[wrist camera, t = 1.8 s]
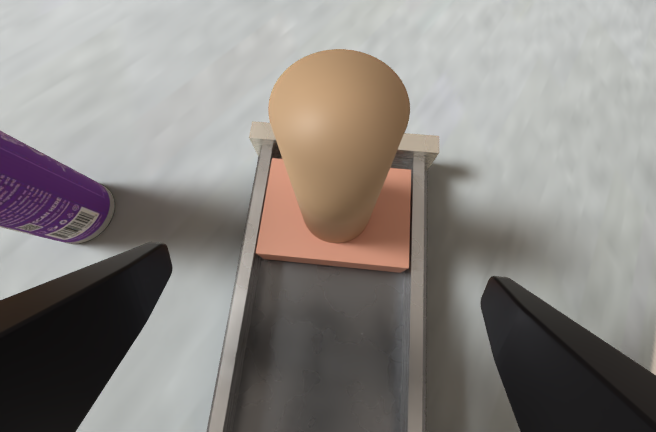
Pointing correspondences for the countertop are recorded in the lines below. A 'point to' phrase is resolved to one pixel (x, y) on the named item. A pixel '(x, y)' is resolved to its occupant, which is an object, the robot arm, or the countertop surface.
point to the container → (49, 196)
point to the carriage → (338, 165)
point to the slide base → (326, 328)
